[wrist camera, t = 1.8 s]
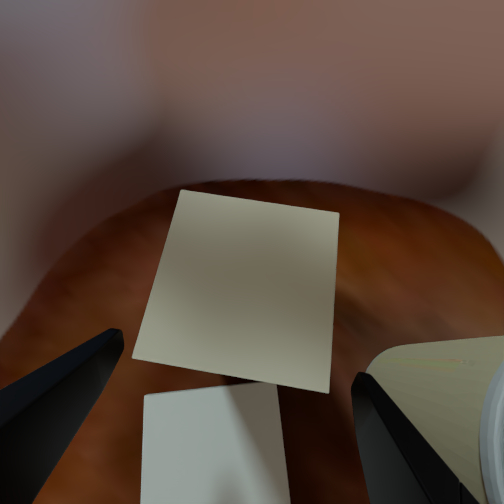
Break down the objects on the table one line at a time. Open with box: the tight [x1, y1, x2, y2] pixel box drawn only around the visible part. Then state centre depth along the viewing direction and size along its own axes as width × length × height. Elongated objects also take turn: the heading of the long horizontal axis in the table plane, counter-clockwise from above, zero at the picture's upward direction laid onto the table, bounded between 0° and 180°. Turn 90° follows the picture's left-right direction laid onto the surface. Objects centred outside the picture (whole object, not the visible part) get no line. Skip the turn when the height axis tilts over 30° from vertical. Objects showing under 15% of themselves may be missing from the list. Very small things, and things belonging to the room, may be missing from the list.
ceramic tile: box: [141, 381, 291, 504], centre depth 16 cm, size 9×9×1 cm
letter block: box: [132, 190, 339, 393], centre depth 13 cm, size 5×5×13 cm
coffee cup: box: [365, 336, 504, 504], centre depth 12 cm, size 9×9×12 cm
